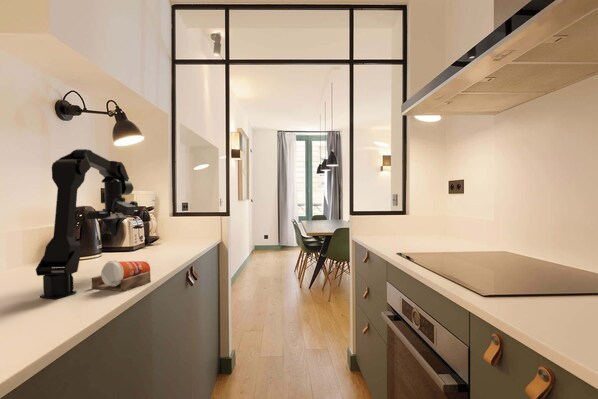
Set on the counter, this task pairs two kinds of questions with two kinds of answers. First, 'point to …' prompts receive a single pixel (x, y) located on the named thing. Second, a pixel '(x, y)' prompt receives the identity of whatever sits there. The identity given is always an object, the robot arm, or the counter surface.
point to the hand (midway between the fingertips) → (114, 236)
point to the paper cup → (122, 271)
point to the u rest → (122, 282)
